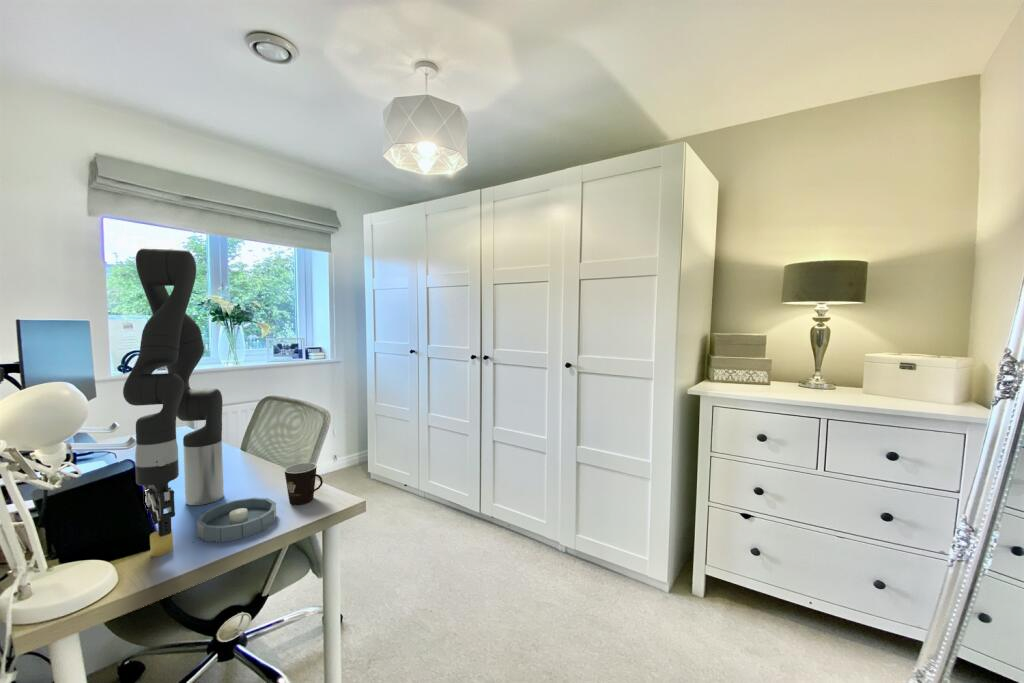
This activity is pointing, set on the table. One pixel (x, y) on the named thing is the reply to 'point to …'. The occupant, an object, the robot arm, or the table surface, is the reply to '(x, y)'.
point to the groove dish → (237, 531)
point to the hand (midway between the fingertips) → (159, 529)
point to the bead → (160, 544)
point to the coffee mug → (301, 482)
